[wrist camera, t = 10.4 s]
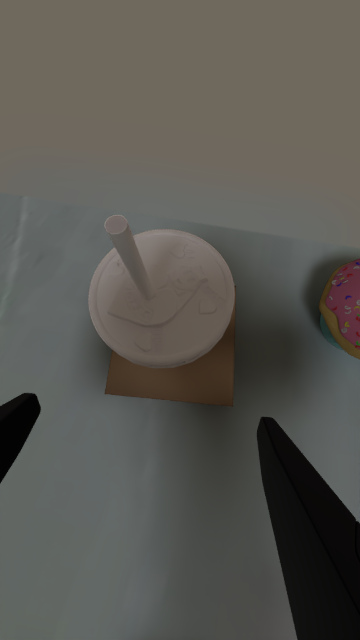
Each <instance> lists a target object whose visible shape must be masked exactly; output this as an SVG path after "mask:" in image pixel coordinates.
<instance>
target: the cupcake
mask: <svg viewBox="0 0 360 640" xmlns="http://www.w3.org/2000/svg"><path fill="white" fill-rule="evenodd" d="M319 310H320V312H321V316H320V327H321V330H322V333H323V335H324V336H325V338H326V339H327V340H328V341H329V342H330V343H331V344H333V345H334V346H336V347H337V348H339V349H342V350H345V351H346V352H347V353H348V354H350V355H351V356H353V357H356V358H358V359H360V259H357V260H355V261H353V262H350V263H347V264H344V265H342V266H340V267H339V268H337V269H336V270H335V271H334V272H333V274H332V275H331V277H330V278H329V280H328V282H327V284H326V286H325V288H324V291H323V293H322V296H321V299H320V302H319Z"/></svg>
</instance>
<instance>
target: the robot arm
mask: <svg viewBox="0 0 360 640" xmlns="http://www.w3.org/2000/svg"><path fill="white" fill-rule="evenodd" d="M40 411H41V407H40V404H39V401H38V398H37V396H36V395H35V394H33V393H23V394H21V395H19V396H18V397H16V398H14V399H12V400H11V401H9V402H7V403H5V404H3V405H2V406H0V483H1V482H2V480H3V478H4V477H5V475H6V474H7V472H8V470H9V469H10V467H11V466H12V464H13V462H14V461H15V459H16V458H17V456H18V454H19V453H20V451H21V449H22V447H23V445H24V443H25V442H26V440H27V438H28V436H29V434H30V432H31V430H32V428H33V426H34V424H35V422H36V420H37V418H38V416H39V414H40ZM257 442H258V450H259V459H260V467H261V475H262V482H263V487H264V492H265V496H266V500H267V505H268V509H269V514H270V518H271V523H272V527H273V532H274V536H275V541H276V545H277V550H278V554H279V559H280V563H281V568H282V572H283V577H284V581H285V586H286V590H287V595H288V599H289V604H290V608H291V612H292V617H293V621H294V626H295V630H296V635H297V639H298V640H360V523H359V522H358V521H356V519H355V517H354V516H353V515H352V513H351V512H350V511H349V510H348V509H347V507H346V506H345V505H344V504H343V503H342V501H341V500H340V499H339V498H338V496H337V495H336V494H335V493H334V492H333V490H332V489H331V488H330V487H329V485H328V484H327V483H326V482H325V481H324V479H323V478H322V477H321V476H320V474H319V473H318V472H317V471H316V470H315V468H314V467H313V466H312V465H311V464H310V462H309V461H308V460H307V459H306V457H305V456H304V455H303V454H302V453H301V451H300V450H299V449H298V448H297V446H296V445H295V444H294V443H293V442H292V440H291V439H290V438H289V437H288V436H287V434H286V433H285V432H284V431H283V429H282V428H281V427H280V426H279V425H278V423H277V422H276V421H275V420H274V419H273V418H271V417H261V419H260V422H259V426H258V429H257Z"/></svg>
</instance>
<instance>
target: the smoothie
mask: <svg viewBox="0 0 360 640" xmlns="http://www.w3.org/2000/svg"><path fill="white" fill-rule="evenodd" d="M105 230H106V231H107V233H108V235H109V237H110V239H111V241H112V242H113V244H114V246H115V247H114V248H113V249H112V250H111V251H110V252H109V253H108V254H107V255H106V256H105V257H104V258H103V260H102V261H101V262H100V264H99V266H98V267H97V269H96V271H95V273H94V275H93V278H92V281H91V284H90V289H89V298H88V302H89V312H90V316H91V320H92V322H93V325H94V327H95V329H96V331H97V333H98V334H99V336H100V337H101V339H102V340H103V341H104V342H105V343H106V344H107V345H108V346H109V347H110V348H111V349H112V350H114V351H115V352H116V353H117V354H118V355H120V356H122V357H124V358H125V359H127V360H129V361H131V362H132V363H134V364H138V365H142V366H146V367H150V368H175V367H178V366H181V365H185V364H188V363H191V362H193V361H195V360H196V359H198V358H200V357H201V356H203V355H205V354H206V353H208V352H209V351H210V350H211V349H212V348H213V347H214V346H215V345H216V343H217V342H218V341H219V340H220V339H221V338H222V336H223V334H224V332H225V330H226V328H227V326H228V324H229V322H230V319H231V315H232V311H233V307H234V301H235V288H234V281H233V278H232V274H231V272H230V269H229V267H228V265H227V263H226V262H225V260H224V258H223V257H222V256H221V255H220V253H219V252H218V251H217V250H216V249H215V248H214V247H213V246H211V245H210V244H209V243H208V242H206V241H205V240H203V239H201V238H199V237H197V236H195V235H193V234H190V233H187V232H183V231H179V230H171V229H158V230H151V231H146V232H142V233H139V234H136V235H134V236H133V235H132V233H131V230H130V228H129V225H128V222H127V220H126V218H125V217H123V216H121V215H114V216H111V217H109V218H108V219H107V220H106V222H105Z"/></svg>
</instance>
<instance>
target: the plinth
mask: <svg viewBox="0 0 360 640" xmlns="http://www.w3.org/2000/svg"><path fill="white" fill-rule="evenodd" d="M234 288H235V301H234V307H233V311H232V315H231V319H230V322H229V324H228V326H227V328H226V330H225V332H224V334H223V336H222V338H221V339H220V340H219V341H218V342H217V343H216V345H215V346H214V347H213V348H212V349H211V350H210V351H209V352H208V353H206V354H205V355H203V356H201V357H200V358H198V359H196V360H195V361H193V362H191V363H188V364H185V365H181V366H178V367H175V368H150V367H146V366H142V365H138V364H134V363H132V362H131V361H129V360H127V359H125V358H124V357H122V356H120V355H118V354H117V353H116V352H115V351H114V350H112V355H111V360H110V366H109V372H108V377H107V383H106V389H105V394H111V395H121V396H131V397H141V398H151V399H161V400H171V401H182V402H192V403H202V404H212V405H222V406H232V407H233V391H234V347H235V304H236V286H234Z"/></svg>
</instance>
